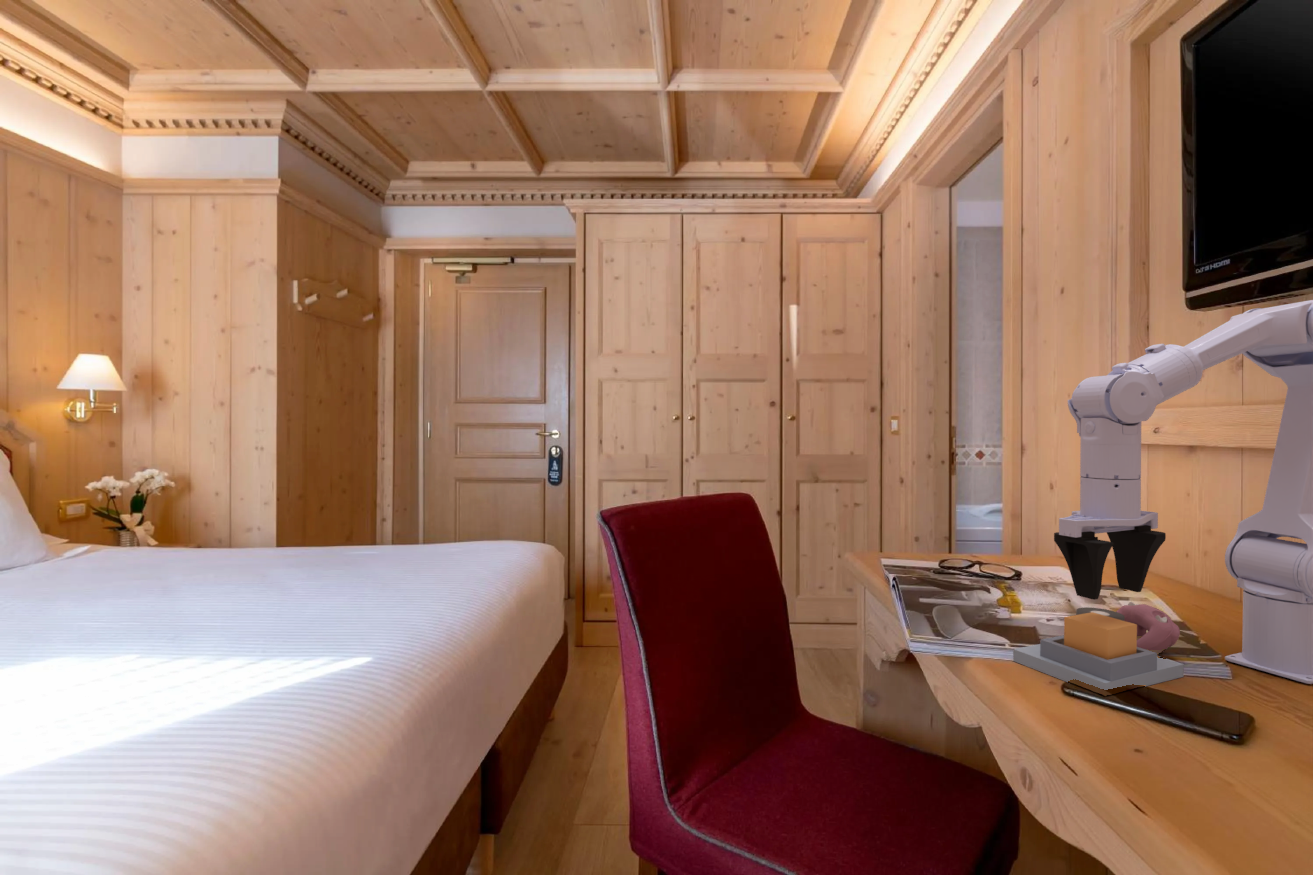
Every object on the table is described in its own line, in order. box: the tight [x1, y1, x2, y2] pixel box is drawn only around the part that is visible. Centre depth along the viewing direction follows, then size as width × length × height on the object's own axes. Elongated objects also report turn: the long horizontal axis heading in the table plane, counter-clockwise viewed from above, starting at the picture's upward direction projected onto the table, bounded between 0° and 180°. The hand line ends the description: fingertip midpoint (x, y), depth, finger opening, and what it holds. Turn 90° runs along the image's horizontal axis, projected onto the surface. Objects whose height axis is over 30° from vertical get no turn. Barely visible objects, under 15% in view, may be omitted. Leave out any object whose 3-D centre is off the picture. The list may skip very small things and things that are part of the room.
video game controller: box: [1115, 601, 1181, 650], centre depth 81 cm, size 10×5×7 cm, turn 169°
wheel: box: [1075, 606, 1125, 621], centre depth 79 cm, size 5×5×4 cm
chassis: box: [1012, 634, 1185, 690], centre depth 75 cm, size 14×11×4 cm
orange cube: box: [1063, 612, 1137, 660], centre depth 73 cm, size 5×5×5 cm
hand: (1109, 593), depth 72 cm, fingers open, 7 cm apart
